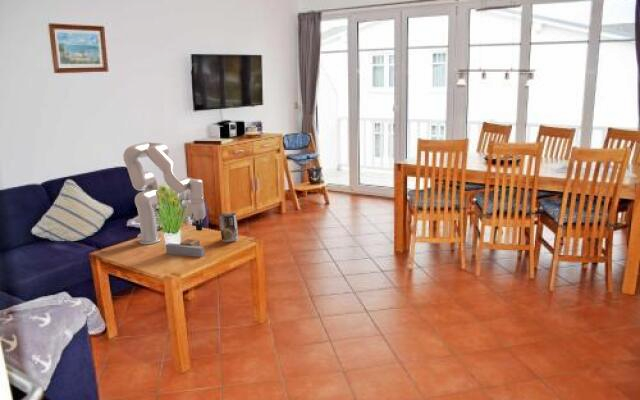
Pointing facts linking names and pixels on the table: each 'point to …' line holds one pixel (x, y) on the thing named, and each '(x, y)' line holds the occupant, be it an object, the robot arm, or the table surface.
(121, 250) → the table surface
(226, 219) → the coffee box
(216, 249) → the table surface
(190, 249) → the slate rail
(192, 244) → the walnut block
